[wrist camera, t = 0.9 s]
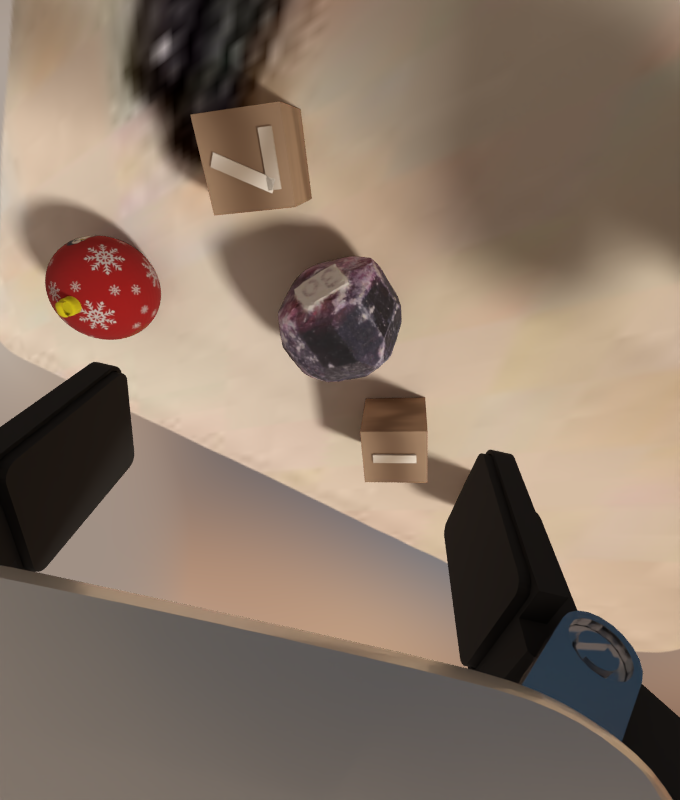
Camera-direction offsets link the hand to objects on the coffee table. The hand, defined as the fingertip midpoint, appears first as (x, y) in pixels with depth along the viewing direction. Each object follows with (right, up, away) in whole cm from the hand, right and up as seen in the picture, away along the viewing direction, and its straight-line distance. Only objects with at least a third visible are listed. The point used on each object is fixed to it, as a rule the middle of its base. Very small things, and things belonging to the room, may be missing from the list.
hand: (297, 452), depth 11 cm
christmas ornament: (-18, +13, +28) cm, 36 cm away
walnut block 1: (+7, -1, +33) cm, 34 cm away
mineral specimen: (+2, +10, +27) cm, 29 cm away
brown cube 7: (-4, +20, +22) cm, 30 cm away
